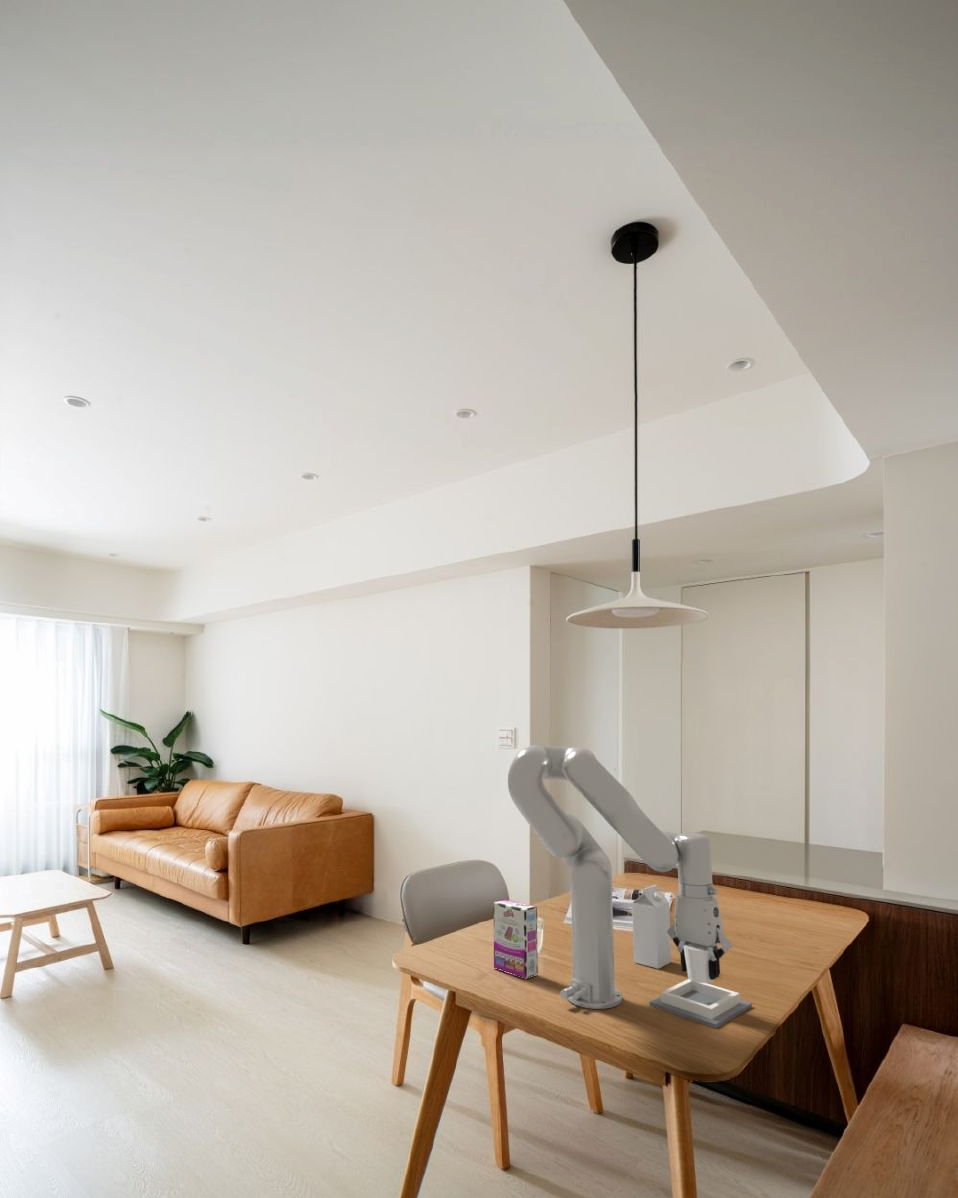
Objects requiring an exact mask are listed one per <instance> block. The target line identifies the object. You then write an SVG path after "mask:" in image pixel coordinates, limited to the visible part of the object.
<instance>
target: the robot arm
mask: <svg viewBox="0 0 958 1198" xmlns="http://www.w3.org/2000/svg"><path fill="white" fill-rule="evenodd" d="M544 780H551V781H552V780H553V781H568V782H569V784H571V785H572V786H573V788H574V789H575V790H576V791H577V792H578V793H579V794H580V795H582V797H583V798H585V800H586V801H587V802H589V804H591V806H592V807H593V808H594V809H595V810H596V811H597V813H599V814H600V816H602V818H603V819H604V820H605V821H606V823H607V824H608V825H610V827H612V829H614V831H615V832H616V833H617V834H618V835H619V836H620V837H621V839H623V841H624V842H625V843H626V844H627V845H628V846H629V847H630V848H631V849H632V851H633V852H635V854H637V856H639V858H640V859H642V861H644V863H645V864H646V865H647V866H648V867H650V868H651V869H653V870H654V871H656V872H660V873H665V872H669V871H671V870H672V869H674V868H675V866H677V879H678V893H677V894H676V899H675V904H674V905H675V906H674V923H673V924H672V925H670V928H669V929H668V931H667V933H668V934H669V936H670V938H671V940H672V942H673V943H674V945H675V946H676V947H677V951H678V953H680V965H681V971H682V972H684V973H687V966H686V960H685V953H684V946H683V945H684V944H686V942H690V943H694V944H698V945H702V946H706V948H707V950H708V953H709V955H710V958H711V960H709V961H708V963H709V978H710V979H711V980H714V981H715V979H717V978H719V977H720V975H721V964H720V959H721V958H722V957H723V956H724V955H725V954H726V953H727V952H728V950H729V951H730V949H731V948H732V943H731V941H729V939H728V938H727V936H726V935H725V934H724V925H723V919H722V913H721V908H720V904H719V901H718V898H717V897H715V896H717V895H718V894H719V890H718V888H715V887H714V883H713V872H712V871H713V869H712V854H711V852H712V851H711V841H710V839H709V837H708V836H707V835H705V834H703V833H699V832H698V833H697V832H685V833H675V832H671V831H670V832H669V831H663V830H660V828H658V827H657V825H656V824H654V822H653V821H651V819H650V818H649V817H648V816H647V815H646V814H645V812H644V811H643V810H642V809H641V807H640V805H638V804H637V802H636V800H635V799H634V797H633V795H632V794H631V793H630V792H629V791H628V789H626V787H624V786H623V784H621V783H620V782H619V781H618V780H617V779H616V778H615V776H613V775H612V774H611V773H610V771H608V769H607V768H605V766H603V764H602V763H601V762H600V761H599V760H598V759H597V758H596V755H594V753H593V751H591V750H589V748H586V747H581V746H580V747H579V746H578V747H577V746H576V747H575V746H574V747H571V746H557V745H556V746H555V745H554V746H553V745H544V744H543V745H542V744H541V745H540V744H534V745H533V744H532V745H528V746H527V747H524V748H522V749H521V750H520V751H518V752H517V753H516V755H515V757H514V758H513V760H512V762H511V764H510V767H509V770H508V773H507V789H508V792H509V793H508V794H509V795H510V798H511V800H512V801H513V803H514V805H515V806H516V808H517V809H518V811H519V812H520V814H521V815H522V817H523V818H524V819H525V821H526V822H527V824H529V827H530V828H531V829H532V830H533V832H534V833H535V834H536V836H537V837H538V839H539V840H540V841H541V843H542V844H543V845H544V847H545V849H546V850H547V851H548V852H549V853H550V854H551V855H552V856H553V857H555V858H558V859H561V860H562V861H563V862H564V864H565V865H566V866H567V868H569V870H570V877H569V882H570V883H569V885H570V905H571V907H570V908H571V945H572V948H571V949H572V953H571V954H572V955H571V956H572V978H571V979H570V984H569V986H568V987H565V988H563V989H561V990H560V993H559V995H560V997H561V998H562V999H563V1000H566V999H567V1001H569V1002H570V1003H572V1004H573V1005H576V1006H578V1007H581V1008H585V1009H593V1010H602V1009H604V1010H605V1009H611V1008H615V1007H616V1006H618V1005H620V1004H621V1003H622V1001H623V996H622V992H621V991H620V990H619V989H618V988H616V986H615V985H616V983H615V982H616V981H615V979H616V978H615V950H614V949H615V948H614V942H615V941H614V917H613V915H614V913H613V910H614V909H613V871H612V870H613V869H612V863H611V860H610V858H609V857H608V855H607V853H606V852H605V851H604V850H603V848H602V847H601V845H599V843H598V842H597V841H596V839H595V838H594V837H593V835H592V834H591V833H590V832H589V830H588V829H587V828H586V827H585V826H584V824H583V822H581V820H580V819H579V818H578V817H577V816H575V815H574V814H572V813H569V812H565V811H564V810H563V808H561V806H560V805H559V803H557V800H556V799H555V798H554V797H553V796H552V794H551V793H550V792H549V791H548V790H547V788H546V787H545V784H544ZM718 944H721V946H720V947H719V945H718ZM713 948H714V950H713Z"/></svg>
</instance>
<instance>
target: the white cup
mask: <svg viewBox="0 0 958 1198" xmlns="http://www.w3.org/2000/svg"><path fill="white" fill-rule="evenodd" d="M683 946H684V953H685V960H686V966H687V971H686V974H687V979H690V980H691V981H694V982H699V983H707V984H710V983H712V982H714V981H715V979H714V980H711V979H710V978H709V963H708V961H709V960H711V958H710V955H709V953H708V950H707V948H706V946H702V945H698V944H694V943H690V942H686V944H684V945H683ZM713 950H714V948H713Z"/></svg>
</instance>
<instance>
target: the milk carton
mask: <svg viewBox="0 0 958 1198" xmlns="http://www.w3.org/2000/svg"><path fill="white" fill-rule="evenodd" d="M631 907H632V908H631V909H632V938H633V939H632V940H633V962H634V963H636V964H640V965H643V966H645V967H650V968H653V969H658V970H659V969H661V968H663V967H665V966H667V965H668V964H670V963H672V946H671V945H672V944H671V940H672V938H671V937H670V936H669V934H668V933H667V931H668V929H669V928H670V927H671V916H670V902H669V900H668V899H667V898H666V897H665V895H664V894H663V893H662V892H661V891H660V890H659V888H658V884H654V885H651V886H648V887H645V888H643V889H642V894H641V895H640V896H638V897H637V898H636V899H635V900H634V901H633V902H631Z"/></svg>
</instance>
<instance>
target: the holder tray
mask: <svg viewBox="0 0 958 1198" xmlns="http://www.w3.org/2000/svg"><path fill="white" fill-rule="evenodd" d="M649 1006H650V1007H653V1008H656V1009H658V1010H661V1011H665V1012H666V1013H669V1014H674V1015H675V1016H679V1017H681V1018H685V1019H687V1020H690V1021H693V1022H696V1023H698V1024H702V1025H705V1026H707V1027H711V1028H712V1029H713V1028H714V1029H717V1028H719V1027H721V1026H722V1025H724V1024H726V1023H728V1022H729V1021H731V1020H732V1019H734V1018H736V1017H737V1016H739V1015H741V1014H742V1013H744V1012H746V1011H747V1010H749V1009H750V1007H751V1008H752V1007H753V1003H752V1002H750V1001H747V1000H744V999H741V993H740V992H737V991H734V990H730V989H727V988H724V987H720V986H717V985H713V984H710V983H699V982H694V981H691V980H690V979H689V978H687V979H685V980H684V981H681V982H679V983H677V984H675V985H673V986H671V987H669V988H667V989H665V990H663V991H661V992H660V996H659V997H655V998H654V999H653V1000H651V1001H649Z"/></svg>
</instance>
